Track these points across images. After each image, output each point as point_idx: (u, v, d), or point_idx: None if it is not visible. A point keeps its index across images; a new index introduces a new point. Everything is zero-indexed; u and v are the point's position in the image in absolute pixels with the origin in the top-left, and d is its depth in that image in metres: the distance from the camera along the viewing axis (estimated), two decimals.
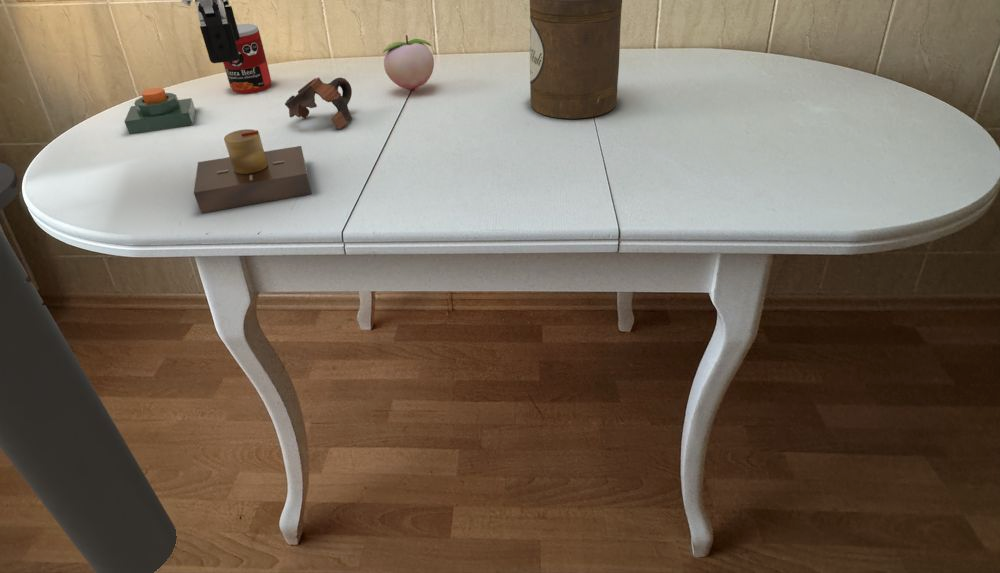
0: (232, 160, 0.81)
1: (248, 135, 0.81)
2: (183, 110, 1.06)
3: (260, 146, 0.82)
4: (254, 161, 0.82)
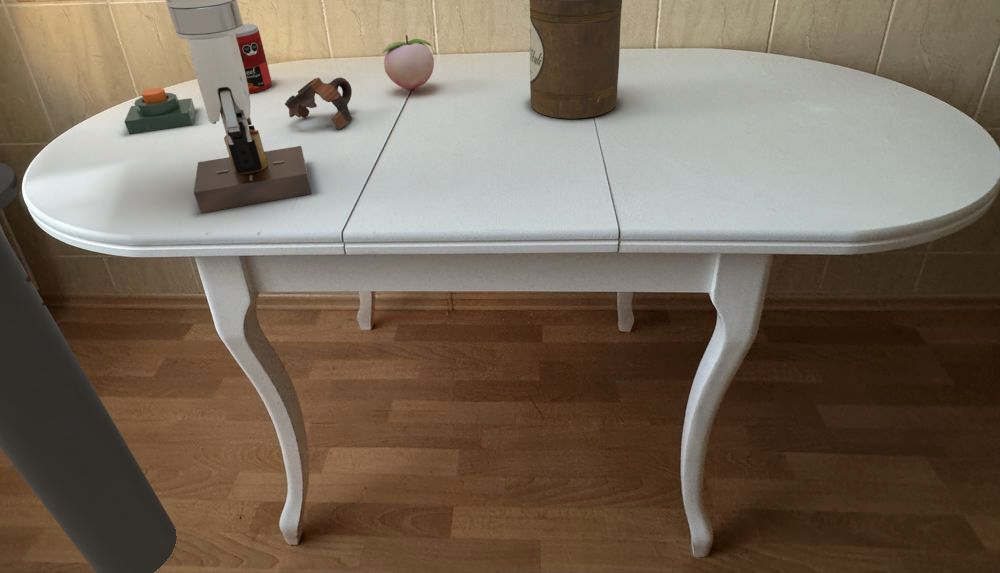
0: (232, 160, 0.81)
1: None
2: (183, 110, 1.06)
3: (260, 146, 0.82)
4: None
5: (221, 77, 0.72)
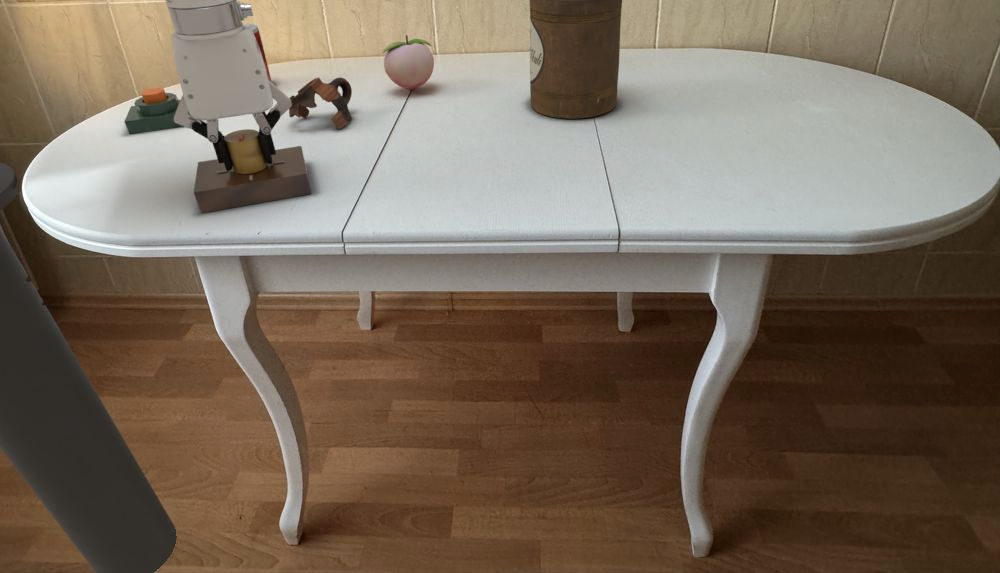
0: None
1: None
2: None
3: (236, 153, 0.80)
4: (231, 161, 0.82)
5: None
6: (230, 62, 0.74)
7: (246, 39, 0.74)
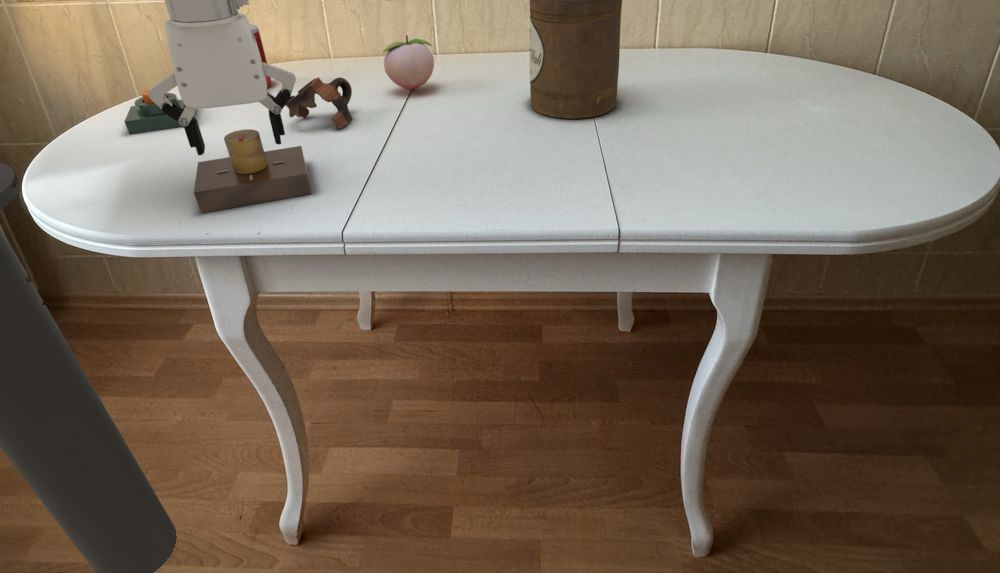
0: None
1: None
2: None
3: (237, 153, 0.80)
4: (231, 161, 0.82)
5: None
6: (225, 51, 0.73)
7: (241, 28, 0.73)
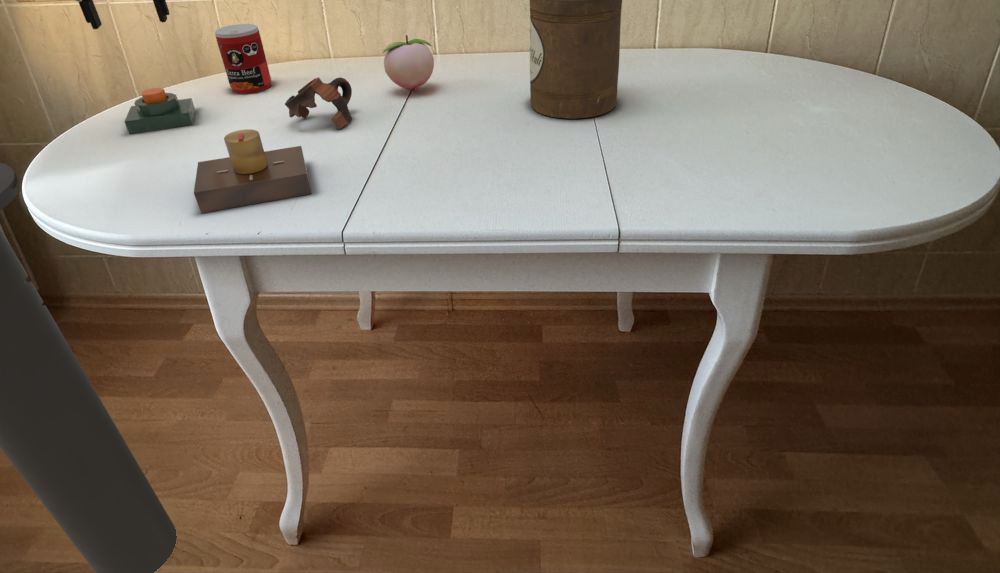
0: None
1: None
2: (183, 110, 1.06)
3: (237, 153, 0.80)
4: (231, 161, 0.82)
5: None
6: None
7: None
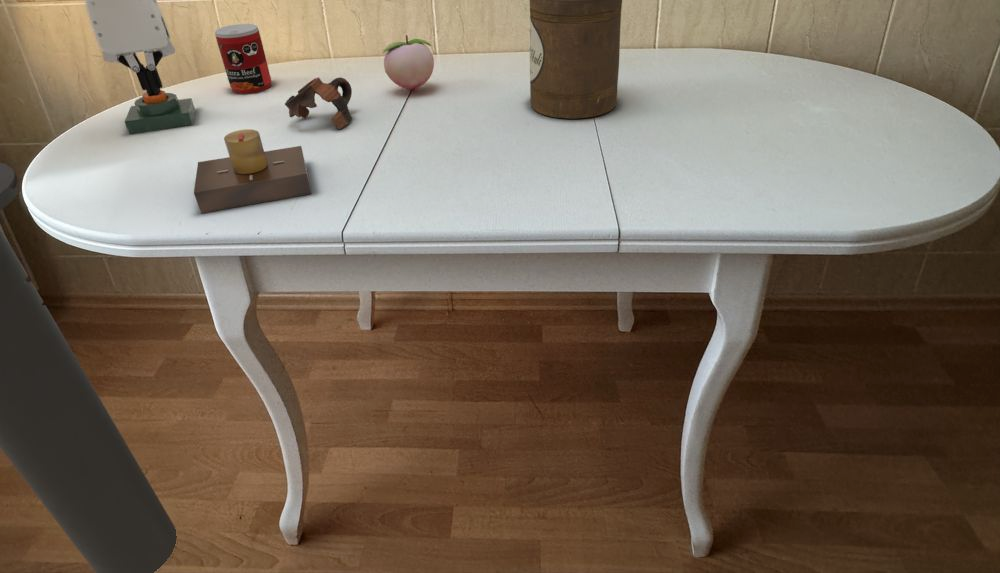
0: None
1: None
2: (183, 110, 1.06)
3: (237, 153, 0.80)
4: (231, 161, 0.82)
5: None
6: (129, 7, 0.96)
7: None
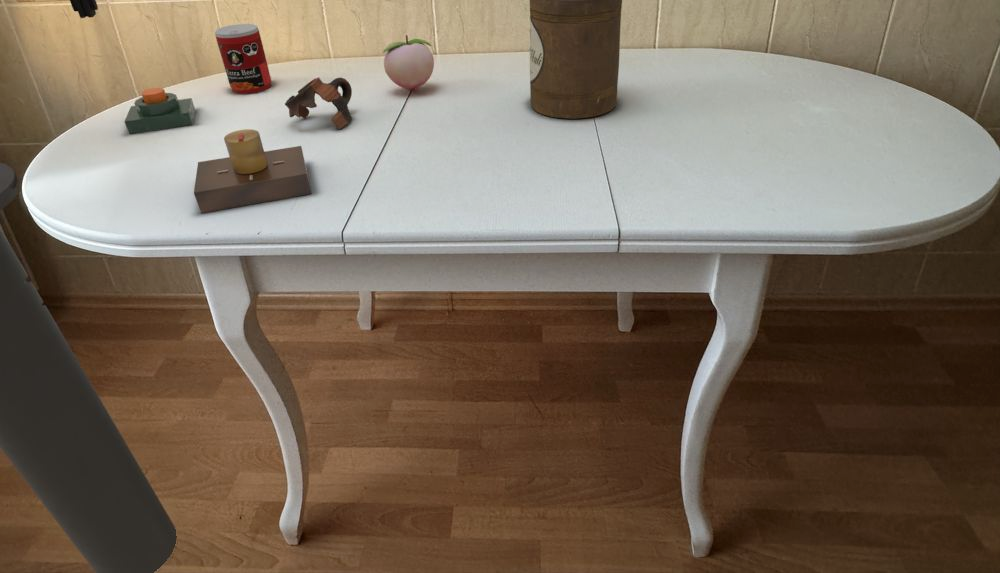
0: None
1: None
2: (183, 110, 1.06)
3: (237, 153, 0.80)
4: (231, 161, 0.82)
5: None
6: None
7: None
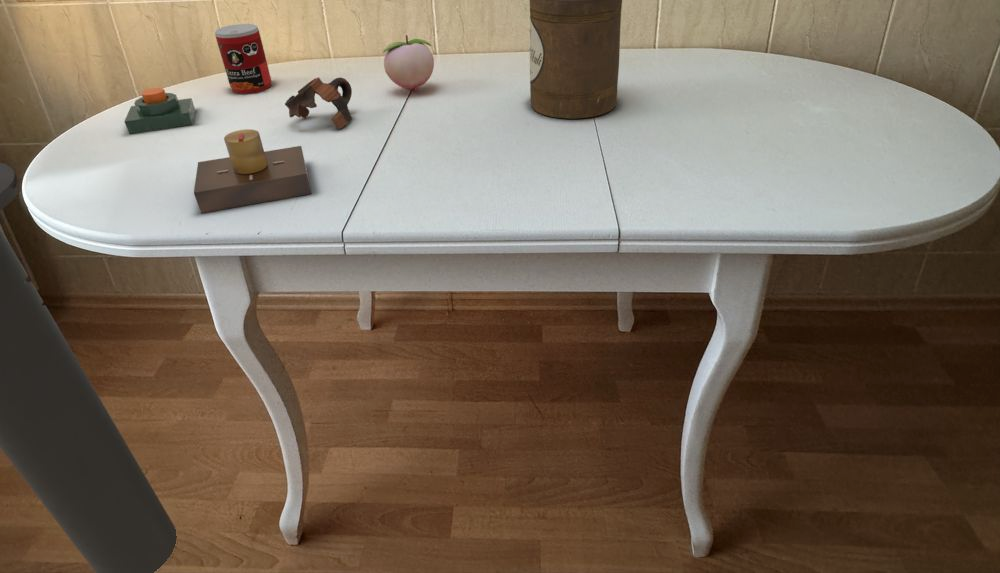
0: None
1: None
2: (183, 110, 1.06)
3: (237, 153, 0.80)
4: (231, 161, 0.82)
5: None
6: None
7: None
